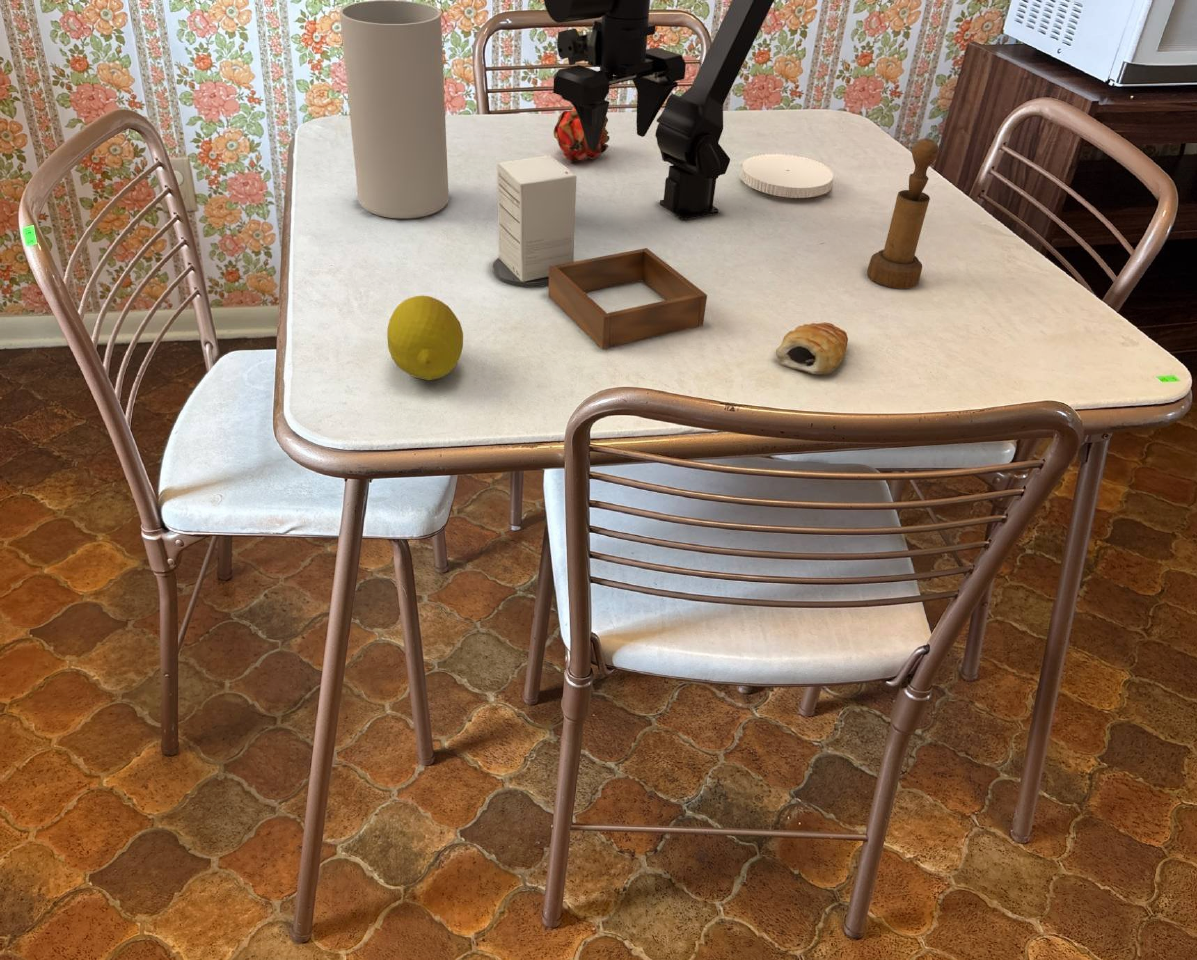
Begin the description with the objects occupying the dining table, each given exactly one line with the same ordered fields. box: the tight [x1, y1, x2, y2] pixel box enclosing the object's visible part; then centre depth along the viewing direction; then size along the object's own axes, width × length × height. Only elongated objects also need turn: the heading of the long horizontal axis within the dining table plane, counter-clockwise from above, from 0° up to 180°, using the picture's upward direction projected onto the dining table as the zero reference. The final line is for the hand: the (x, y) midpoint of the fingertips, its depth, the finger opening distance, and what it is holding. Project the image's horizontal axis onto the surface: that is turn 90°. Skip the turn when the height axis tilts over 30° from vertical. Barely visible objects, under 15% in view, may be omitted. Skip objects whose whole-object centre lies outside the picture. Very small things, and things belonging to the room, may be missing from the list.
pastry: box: [775, 322, 849, 375], centre depth 111 cm, size 9×7×4 cm
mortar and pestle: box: [866, 137, 940, 289], centre depth 123 cm, size 7×6×18 cm
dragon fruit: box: [553, 106, 611, 164], centre depth 155 cm, size 8×8×12 cm
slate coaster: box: [492, 257, 549, 288], centre depth 125 cm, size 9×9×1 cm
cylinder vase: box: [339, 0, 450, 220], centre depth 132 cm, size 12×12×25 cm
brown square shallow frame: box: [547, 247, 708, 350], centre depth 117 cm, size 14×14×4 cm
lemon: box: [386, 295, 464, 381], centre depth 103 cm, size 11×8×8 cm
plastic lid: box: [740, 153, 835, 199], centre depth 152 cm, size 14×14×2 cm
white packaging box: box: [496, 154, 577, 282], centre depth 121 cm, size 7×7×13 cm
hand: (617, 143), depth 129 cm, fingers open, 9 cm apart
